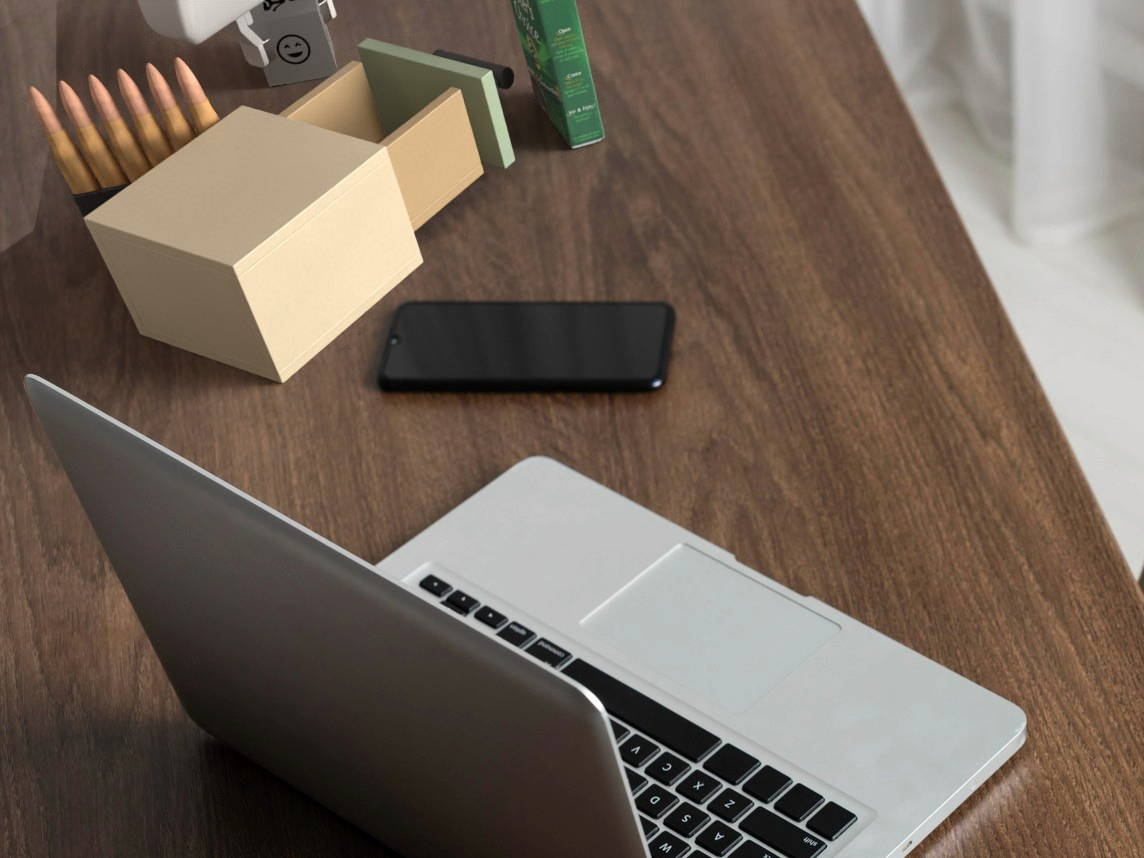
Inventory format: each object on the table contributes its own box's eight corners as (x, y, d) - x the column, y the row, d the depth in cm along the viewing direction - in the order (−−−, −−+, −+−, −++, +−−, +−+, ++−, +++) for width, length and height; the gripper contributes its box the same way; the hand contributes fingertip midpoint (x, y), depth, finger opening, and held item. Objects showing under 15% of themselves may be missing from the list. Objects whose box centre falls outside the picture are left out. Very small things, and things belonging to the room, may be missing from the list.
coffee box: (531, 99, 125) (487, -78, 116) (568, 88, 126) (528, -88, 116) (569, 151, 121) (527, -28, 111) (607, 140, 122) (569, -39, 112)
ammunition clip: (270, 216, 115) (193, 47, 107) (269, 230, 114) (190, 61, 105) (108, 250, 114) (16, 82, 106) (105, 265, 113) (12, 96, 104)
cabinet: (286, 219, 116) (241, 104, 110) (423, 262, 113) (386, 145, 106) (139, 334, 108) (82, 217, 102) (282, 384, 105) (232, 266, 98)
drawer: (433, 97, 124) (407, 8, 119) (552, 129, 121) (530, 39, 116) (275, 220, 114) (239, 129, 109) (400, 259, 111) (369, 167, 106)
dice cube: (264, 55, 130) (241, -8, 127) (332, 42, 131) (311, -21, 128) (269, 87, 127) (246, 24, 123) (338, 74, 128) (317, 11, 124)
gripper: (293, -214, 124) (351, -30, 135) (82, -94, 112) (163, 98, 123) (362, -199, 123) (415, -14, 133) (154, -76, 111) (231, 117, 121)
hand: (293, 41), depth 128 cm, fingers closed on dice cube, 5 cm apart
